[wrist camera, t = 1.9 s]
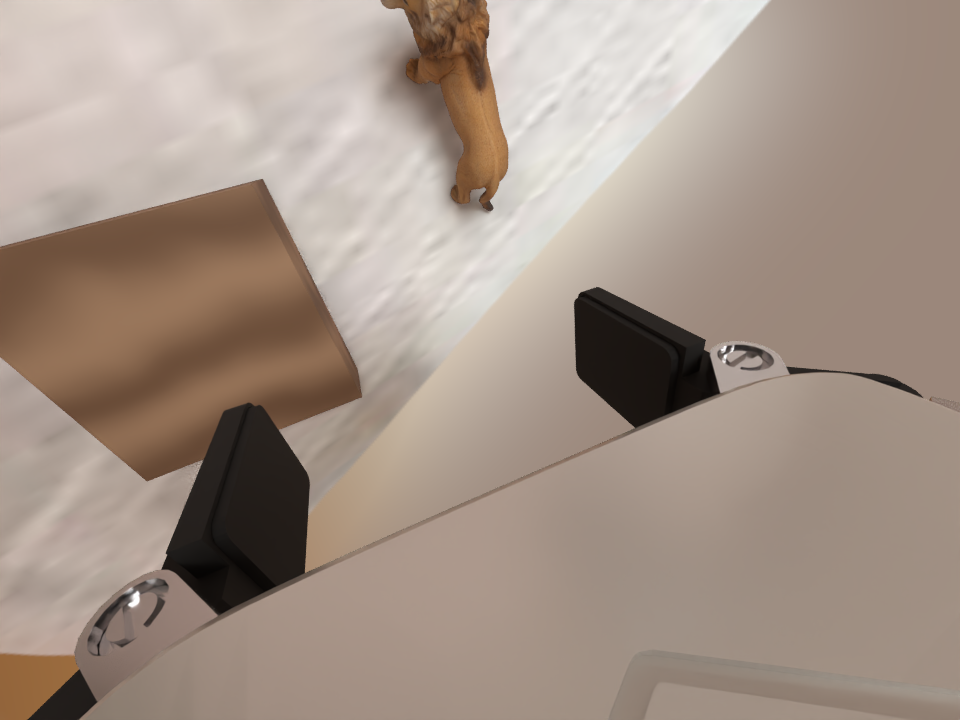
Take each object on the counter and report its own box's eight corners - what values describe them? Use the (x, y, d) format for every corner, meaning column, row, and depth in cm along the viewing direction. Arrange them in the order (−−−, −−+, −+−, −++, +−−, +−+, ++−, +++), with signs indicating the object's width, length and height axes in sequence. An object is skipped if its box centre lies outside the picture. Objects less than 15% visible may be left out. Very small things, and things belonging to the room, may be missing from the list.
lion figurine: (349, 5, 21) (364, -69, 14) (423, -42, 22) (475, -139, 14) (464, 225, 30) (509, 249, 23) (516, 191, 30) (577, 203, 23)
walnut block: (-17, 250, 21) (-97, 274, 17) (263, 178, 24) (251, 184, 20) (170, 436, 30) (147, 481, 26) (357, 366, 33) (362, 396, 29)
